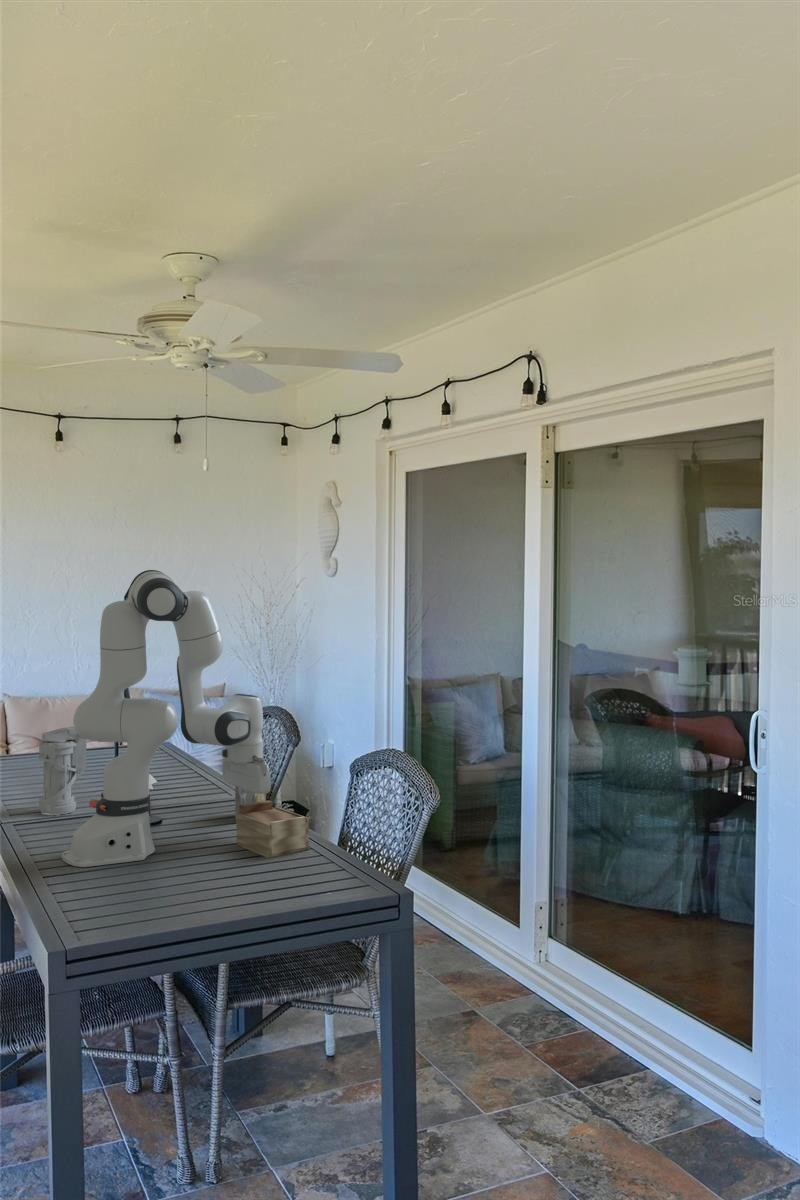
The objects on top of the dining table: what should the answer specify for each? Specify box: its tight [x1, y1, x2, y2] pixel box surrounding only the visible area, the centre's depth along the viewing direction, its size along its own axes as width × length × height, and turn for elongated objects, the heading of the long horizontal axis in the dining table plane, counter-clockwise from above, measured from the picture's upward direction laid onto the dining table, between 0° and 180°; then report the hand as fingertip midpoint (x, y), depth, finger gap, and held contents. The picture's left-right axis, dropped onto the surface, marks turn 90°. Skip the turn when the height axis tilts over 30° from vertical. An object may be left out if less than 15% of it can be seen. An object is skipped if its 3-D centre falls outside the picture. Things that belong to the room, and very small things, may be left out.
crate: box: [236, 806, 310, 859], centre depth 253 cm, size 12×16×9 cm
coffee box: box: [234, 759, 267, 821], centre depth 286 cm, size 9×6×16 cm
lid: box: [239, 799, 298, 825], centre depth 254 cm, size 10×16×3 cm, turn 39°
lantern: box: [38, 725, 87, 814], centre depth 291 cm, size 13×10×25 cm
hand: (246, 804), depth 264 cm, fingers closed
